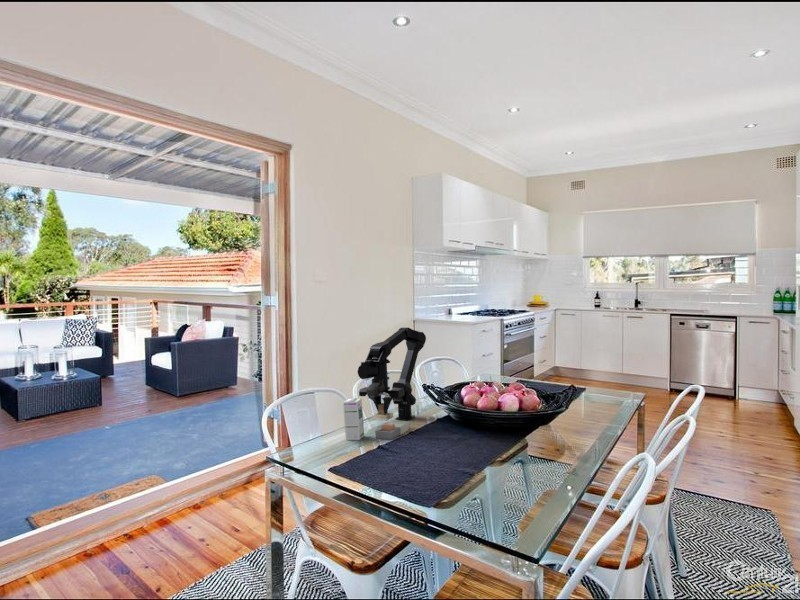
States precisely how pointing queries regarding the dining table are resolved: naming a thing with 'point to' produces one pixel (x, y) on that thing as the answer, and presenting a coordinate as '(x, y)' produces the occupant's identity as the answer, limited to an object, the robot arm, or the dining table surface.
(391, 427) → the tile
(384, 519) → the dining table surface
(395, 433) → the tray
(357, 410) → the syrup box
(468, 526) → the dining table surface
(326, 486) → the dining table surface
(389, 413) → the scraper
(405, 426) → the deck
